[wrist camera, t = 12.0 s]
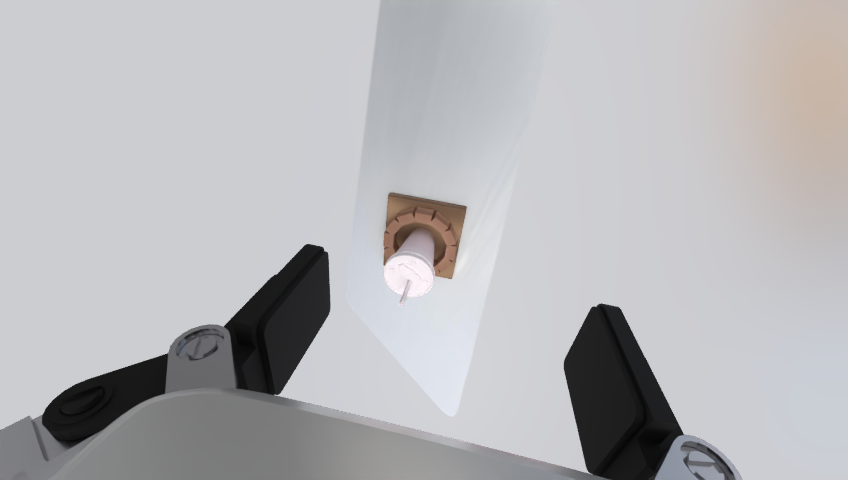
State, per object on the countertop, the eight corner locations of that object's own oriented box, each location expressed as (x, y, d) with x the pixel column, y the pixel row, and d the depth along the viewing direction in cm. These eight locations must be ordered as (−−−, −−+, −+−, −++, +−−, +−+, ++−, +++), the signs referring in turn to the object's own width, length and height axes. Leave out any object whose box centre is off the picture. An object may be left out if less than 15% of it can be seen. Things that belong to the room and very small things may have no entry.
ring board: (390, 192, 47) (384, 201, 44) (466, 206, 46) (465, 216, 43) (385, 261, 53) (379, 272, 50) (452, 274, 52) (450, 287, 49)
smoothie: (412, 261, 50) (387, 326, 38) (393, 227, 48) (361, 284, 36) (450, 250, 48) (437, 315, 36) (433, 213, 46) (412, 270, 34)
